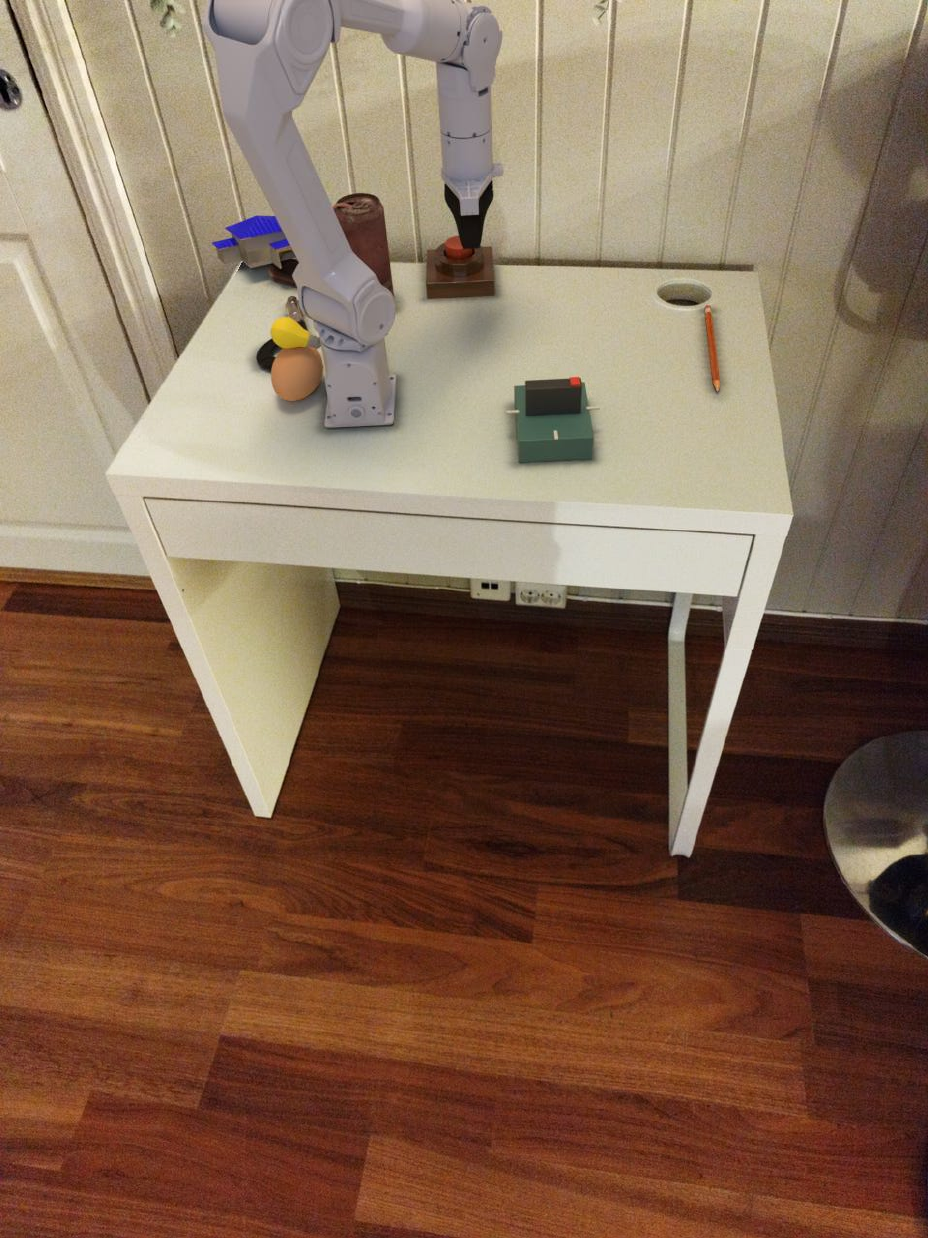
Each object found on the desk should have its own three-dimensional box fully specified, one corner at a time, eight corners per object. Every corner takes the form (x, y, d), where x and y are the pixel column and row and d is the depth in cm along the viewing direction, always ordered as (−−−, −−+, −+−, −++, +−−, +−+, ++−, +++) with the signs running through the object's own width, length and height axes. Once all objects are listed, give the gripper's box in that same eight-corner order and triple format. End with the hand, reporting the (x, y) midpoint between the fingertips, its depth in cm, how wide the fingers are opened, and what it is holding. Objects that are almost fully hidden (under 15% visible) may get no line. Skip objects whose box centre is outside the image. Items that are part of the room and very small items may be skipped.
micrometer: (258, 373, 115) (269, 388, 117) (308, 345, 114) (319, 362, 116) (248, 315, 125) (258, 330, 127) (294, 289, 124) (304, 305, 126)
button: (472, 260, 124) (472, 247, 123) (445, 261, 124) (444, 249, 123) (472, 246, 127) (471, 234, 125) (445, 248, 127) (444, 235, 125)
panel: (602, 459, 102) (604, 436, 100) (508, 463, 103) (508, 440, 100) (592, 402, 109) (594, 379, 107) (505, 406, 109) (504, 383, 107)
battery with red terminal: (525, 415, 103) (525, 387, 100) (525, 406, 104) (525, 378, 101) (580, 413, 103) (582, 384, 100) (579, 404, 104) (580, 375, 101)
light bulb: (271, 341, 110) (277, 310, 109) (320, 356, 111) (327, 326, 109) (264, 345, 107) (271, 314, 106) (315, 361, 108) (322, 331, 106)
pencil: (710, 309, 120) (711, 304, 120) (720, 394, 109) (721, 389, 108) (704, 309, 120) (704, 304, 120) (713, 394, 109) (714, 389, 108)
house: (236, 279, 124) (225, 234, 121) (215, 258, 135) (204, 217, 132) (317, 260, 127) (308, 216, 124) (290, 241, 138) (281, 201, 135)
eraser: (280, 254, 132) (282, 266, 133) (262, 267, 129) (265, 279, 131) (346, 271, 128) (348, 283, 129) (329, 285, 126) (331, 297, 127)
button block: (494, 295, 125) (493, 267, 122) (427, 298, 126) (424, 270, 122) (492, 260, 131) (491, 233, 128) (428, 264, 131) (425, 236, 128)
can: (342, 299, 126) (325, 196, 116) (388, 289, 127) (375, 186, 117) (352, 322, 123) (336, 218, 112) (399, 312, 124) (387, 208, 113)
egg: (313, 324, 110) (287, 368, 105) (340, 363, 114) (317, 407, 109) (276, 337, 113) (250, 381, 108) (304, 375, 117) (280, 419, 112)
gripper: (505, 154, 98) (507, 274, 109) (499, 99, 108) (501, 215, 118) (438, 157, 99) (446, 278, 109) (438, 103, 108) (445, 218, 118)
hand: (471, 245), depth 113 cm, fingers closed
